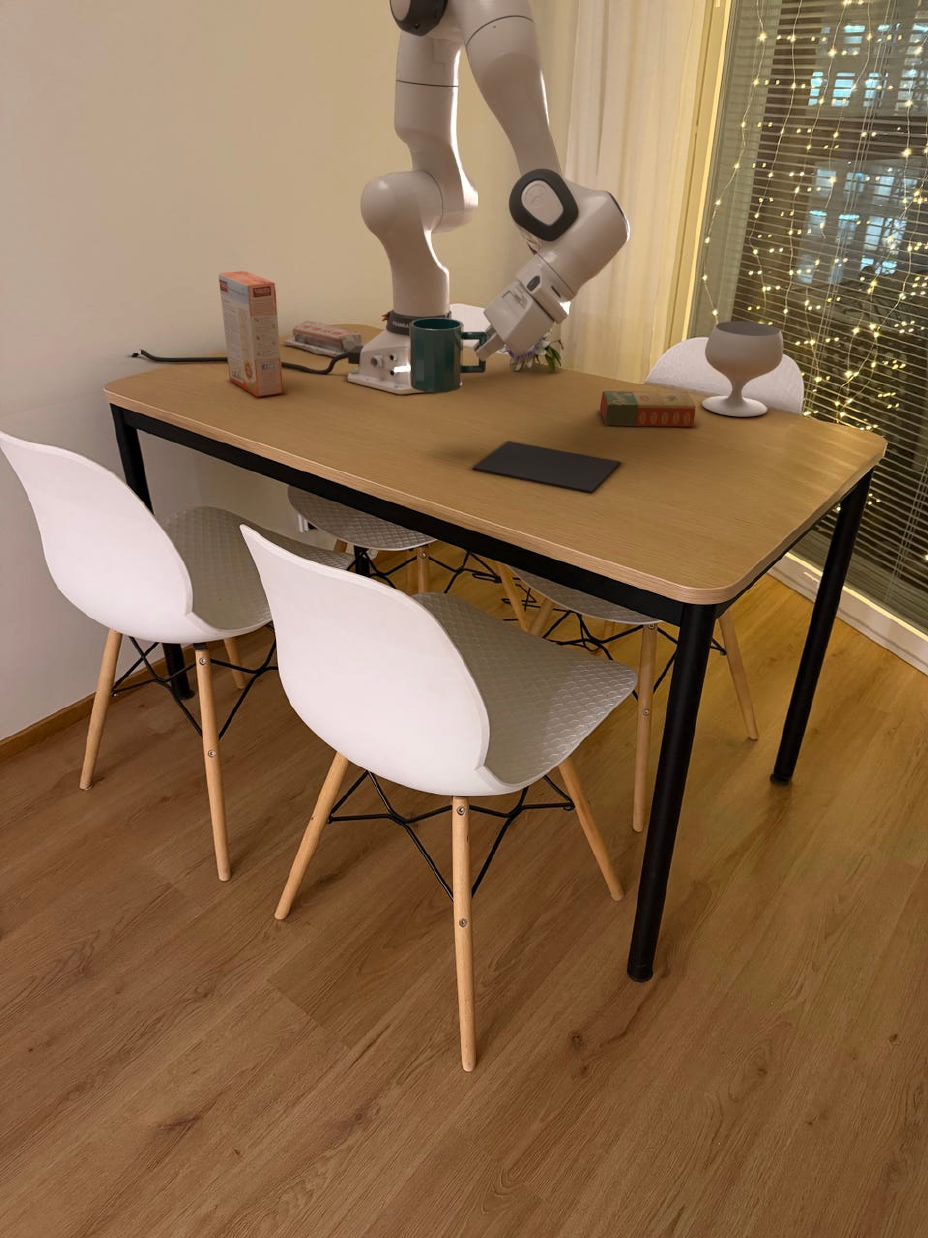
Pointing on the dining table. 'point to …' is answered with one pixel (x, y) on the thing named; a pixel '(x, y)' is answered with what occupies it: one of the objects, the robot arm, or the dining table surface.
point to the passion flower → (536, 354)
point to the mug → (440, 354)
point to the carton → (647, 408)
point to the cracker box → (251, 332)
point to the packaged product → (324, 339)
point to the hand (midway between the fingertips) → (477, 355)
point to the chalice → (742, 362)
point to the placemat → (548, 466)
